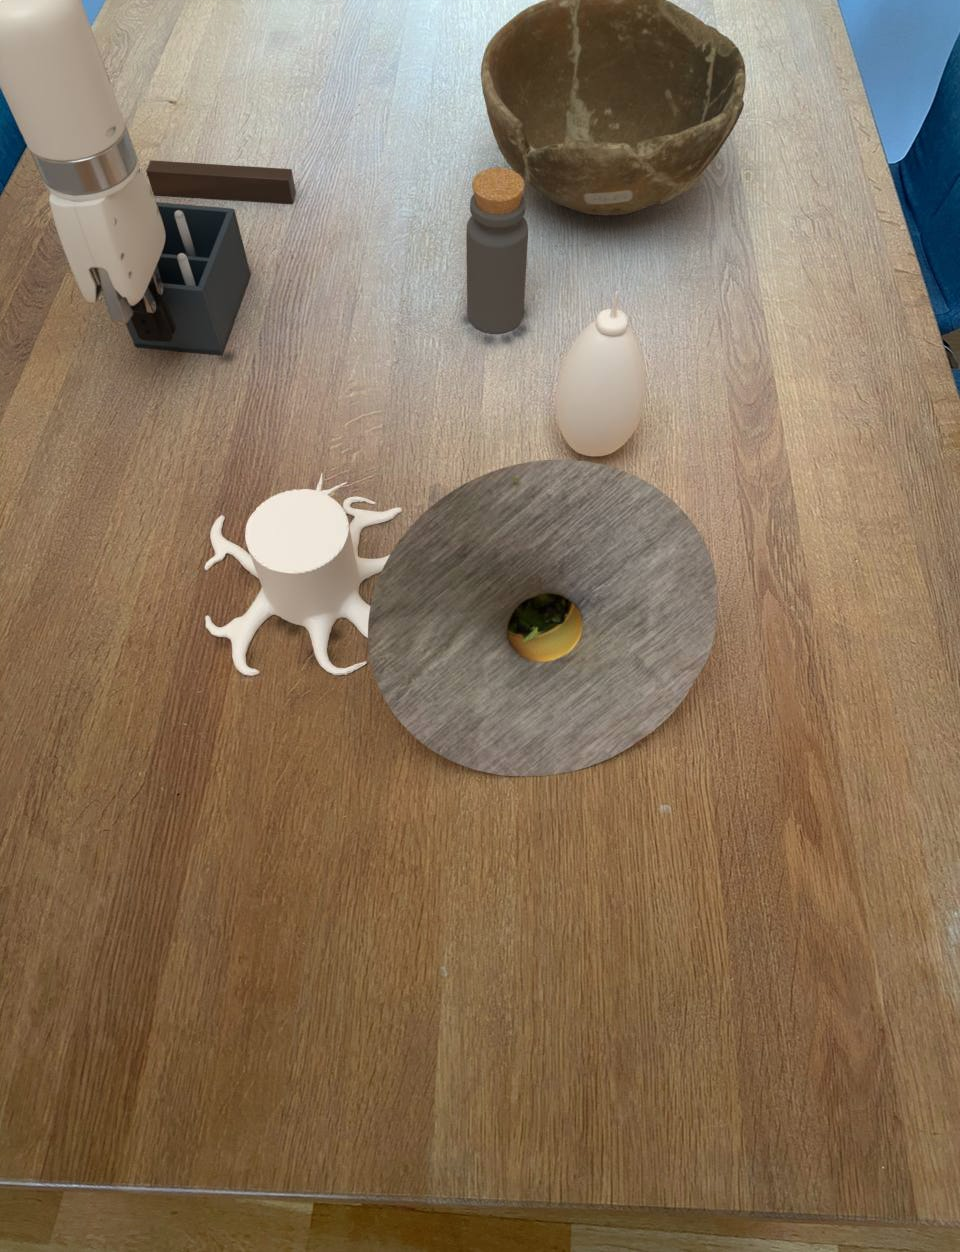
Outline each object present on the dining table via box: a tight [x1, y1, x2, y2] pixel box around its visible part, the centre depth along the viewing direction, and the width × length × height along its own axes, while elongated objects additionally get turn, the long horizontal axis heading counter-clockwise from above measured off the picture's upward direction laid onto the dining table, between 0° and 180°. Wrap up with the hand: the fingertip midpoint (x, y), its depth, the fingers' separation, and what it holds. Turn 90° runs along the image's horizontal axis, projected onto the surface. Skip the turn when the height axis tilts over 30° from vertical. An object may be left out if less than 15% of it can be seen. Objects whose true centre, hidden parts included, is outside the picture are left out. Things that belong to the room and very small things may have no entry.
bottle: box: [465, 167, 529, 335], centre depth 91 cm, size 6×6×15 cm
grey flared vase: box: [367, 459, 719, 777], centre depth 72 cm, size 25×18×25 cm
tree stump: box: [204, 472, 404, 677], centre depth 77 cm, size 20×19×8 cm
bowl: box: [480, 0, 747, 216], centre depth 101 cm, size 28×27×15 cm
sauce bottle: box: [554, 290, 647, 457], centre depth 81 cm, size 8×8×18 cm
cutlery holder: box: [125, 201, 252, 356], centre depth 93 cm, size 12×9×9 cm
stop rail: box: [145, 159, 297, 205], centre depth 106 cm, size 2×16×3 cm, turn 85°
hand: (158, 334), depth 90 cm, fingers closed
